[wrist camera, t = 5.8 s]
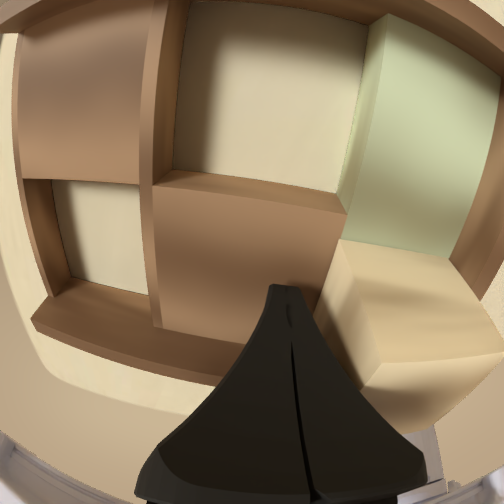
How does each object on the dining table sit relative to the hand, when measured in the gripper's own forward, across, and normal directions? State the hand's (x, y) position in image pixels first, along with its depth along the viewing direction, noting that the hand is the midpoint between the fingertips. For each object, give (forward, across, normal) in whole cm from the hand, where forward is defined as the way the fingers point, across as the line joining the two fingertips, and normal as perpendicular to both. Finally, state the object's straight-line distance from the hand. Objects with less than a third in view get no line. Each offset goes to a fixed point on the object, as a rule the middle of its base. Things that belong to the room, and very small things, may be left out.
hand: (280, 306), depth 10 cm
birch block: (+1, -4, 0) cm, 4 cm away
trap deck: (+3, +2, -3) cm, 5 cm away
